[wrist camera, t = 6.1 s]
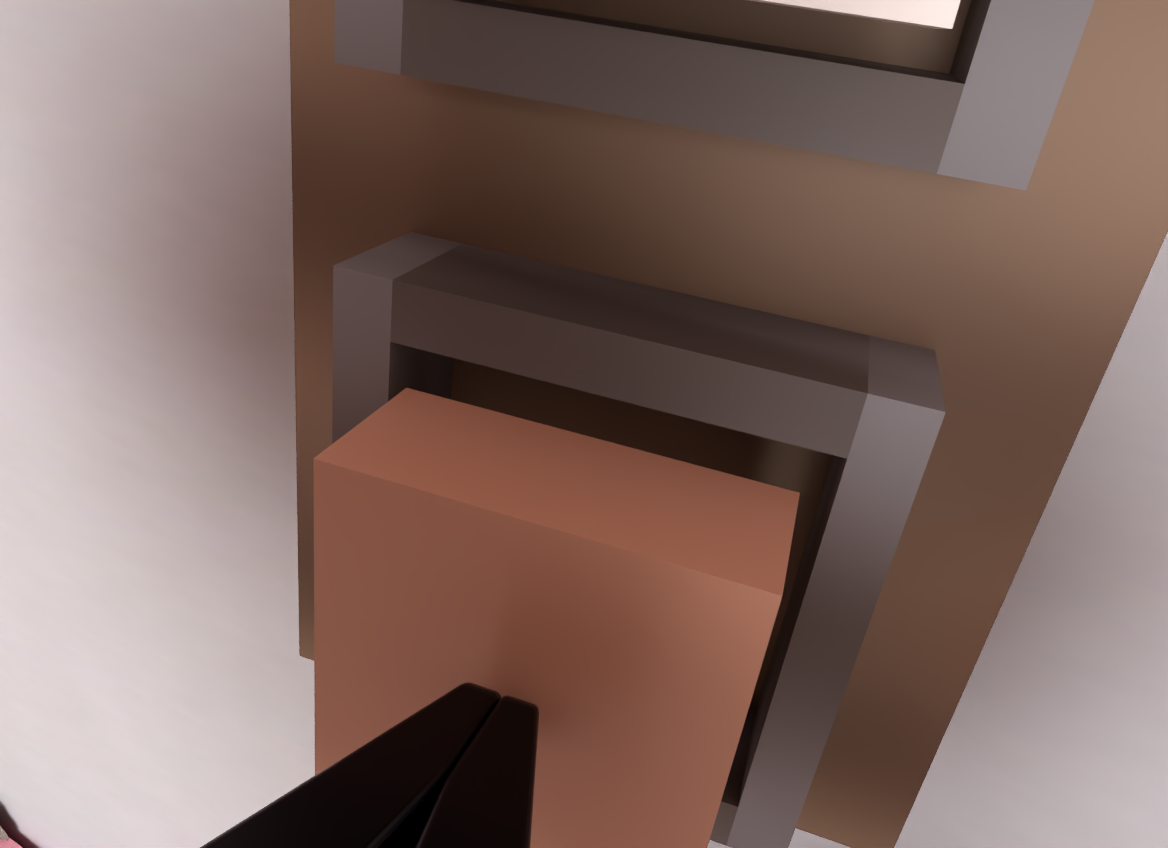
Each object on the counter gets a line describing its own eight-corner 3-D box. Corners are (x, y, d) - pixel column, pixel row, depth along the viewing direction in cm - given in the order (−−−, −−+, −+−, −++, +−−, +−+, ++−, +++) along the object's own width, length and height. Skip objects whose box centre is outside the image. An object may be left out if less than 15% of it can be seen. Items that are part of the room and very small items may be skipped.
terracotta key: (712, 793, 12) (683, 927, 10) (392, 682, 13) (315, 786, 11) (799, 492, 10) (782, 595, 8) (406, 387, 11) (313, 458, 9)
